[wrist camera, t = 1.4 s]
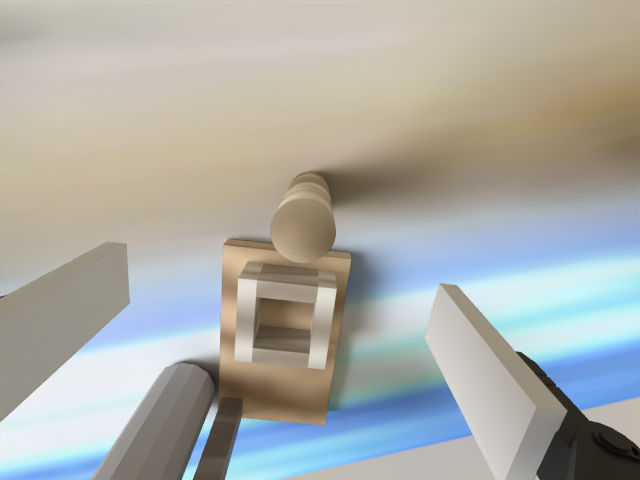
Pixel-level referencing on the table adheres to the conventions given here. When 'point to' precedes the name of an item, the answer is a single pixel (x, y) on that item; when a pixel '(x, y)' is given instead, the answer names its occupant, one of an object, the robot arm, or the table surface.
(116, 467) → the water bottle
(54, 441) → the table surface
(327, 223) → the peg
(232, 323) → the socket station
